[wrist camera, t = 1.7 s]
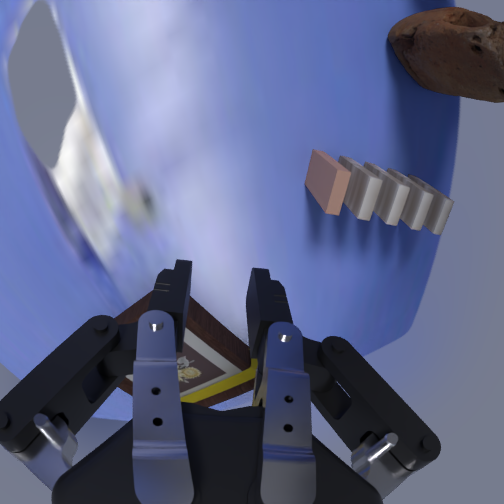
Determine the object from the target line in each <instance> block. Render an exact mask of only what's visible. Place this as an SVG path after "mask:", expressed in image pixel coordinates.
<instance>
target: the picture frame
mask: <svg viewBox="0 0 504 504" xmlns="http://www.w3.org/2000/svg"><path fill="white" fill-rule="evenodd" d="M152 292H153V291H151V292H150V293H148V294H147V295H146V296H144V297H143V298H142V299H140V300H139V301H137V302H136V303H135V304H133V305H132V306H131V307H129V308H128V309H126V310H125V311H124V312H122V313H121V314H120V315H118V316H117V317H116V318H114V319H115V320H116V321H117V323H118V325H120V324H129V323H134V322H137V321H139V318H140V317H141V315H143V314H144V313H146V312H147V309H148V306H149V302H150V299H151V296H152ZM176 361H177V368H178V380H179V390H180V400H181V402H190V403H195V404H198V405H201V406H204V407H210V406H213V405H216V404H218V403H221V402H223V401H226V400H229V399H231V398H234V397H236V396H239V395H241V394H244V393H246V392H248V391H251V390H253V389H254V384H255V374H256V369H257V366H258V361H257V359H250V348H249V347H248V346H247V345H246V344H245V343H244V342H242V341H241V340H240V339H239V338H238V337H236V336H235V335H234V334H233V333H232V332H231V331H229V330H228V329H227V328H226V327H225V326H224V325H222V324H221V323H220V322H219V321H218V320H217V319H216V318H214V317H213V316H212V315H211V314H210V313H209V312H208V311H206V310H205V309H204V308H203V307H202V306H201V305H200V304H199V303H197V302H196V301H195V300H194V299H193V298H192V297H191V296H190V299H189V306H188V313H187V320H186V328H185V335H184V343H183V351H182V353H180V352H177V355H176ZM117 387H119V388H120V389H122V390H123V391H125V392H126V393H128V394H130V395H131V396H133V374H132V375H126V377H125V379H124V380H123V381H122V382H121V383H120V384H119V385H118V386H117Z"/></svg>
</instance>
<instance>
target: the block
mask: <svg viewBox="0 0 504 504" xmlns="http://www.w3.org/2000/svg"><path fill="white" fill-rule="evenodd" d="M388 39H389V41H390V43H391V44H392V47H393V49H394V51H395V54H396V56H397V57H398V59H399V60H400V62H401V63H402V65H403V66H404V68H405V69H406V71H407V72H408V73H409V74H410V75H411V77H412V78H413V79H414V80H415V81H416V82H417V83H418V84H419V85H420V86H422V87H423V88H425V89H428V90H431V91H434V92H438V93H442V94H447V95H453V96H462V97H466V98H471V99H476V100H484V101H489V102H494V103H499V102H504V22H497V21H494V20H492V19H491V18H490V17H488V16H485V15H483V14H479V13H476V12H473V11H469V10H467V9H464V8H459V7H446V8H438V9H433V10H428V11H424V12H420V13H416V14H414V15H411V16H409V17H406V18H404V19H402V20H401V21H399V22H398V23H396V24H395V25H394V26H393V27H392V28H391V30H390V32H389V34H388Z"/></svg>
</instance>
